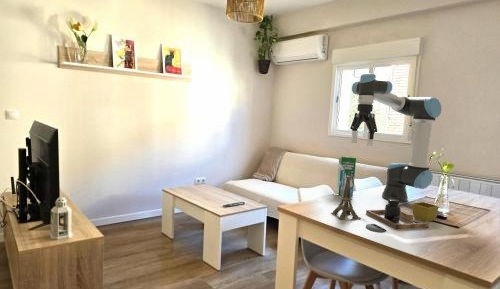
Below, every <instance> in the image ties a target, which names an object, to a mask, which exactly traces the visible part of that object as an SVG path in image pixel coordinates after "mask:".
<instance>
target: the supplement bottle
mask: <svg viewBox="0 0 500 289" xmlns="http://www.w3.org/2000/svg"><path fill="white" fill-rule="evenodd" d="M399 205H400V202H399V200H397V199H387V204H385V206H384V210H385V214H383V216H384V217H383V218H385V219H387V220H389V221H391V222H393V223H395V224H400V219H399V218H400V210H402V209H401V206H399Z"/></svg>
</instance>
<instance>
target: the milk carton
mask: <svg viewBox="0 0 500 289" xmlns="http://www.w3.org/2000/svg"><path fill="white" fill-rule="evenodd" d="M356 163H357V158H356V157H351V156H347V155H344V156H341V157H339V159H338V168H337V180H336V181H337V182H336V191H335V192H336V193H337V194H338V196H343V194H344V189H345V185H346V180H347V179H346V176H348V173H349V176H350V177H351V179H350V197H353V196H354V188H355V186H354V185H355V176H356V175H355V174H356V166H357V164H356Z"/></svg>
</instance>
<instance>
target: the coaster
mask: <svg viewBox="0 0 500 289" xmlns="http://www.w3.org/2000/svg"><path fill="white" fill-rule="evenodd" d="M365 228H366V229H367V230H369V231H372V232H375V233H386V232H387V231H388V230H387V229H385V228H384V227H382V226H380V225H378V224H375V223H367V224H365Z"/></svg>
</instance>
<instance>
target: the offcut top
mask: <svg viewBox="0 0 500 289" xmlns="http://www.w3.org/2000/svg"><path fill="white" fill-rule="evenodd" d="M400 215H401V216H403V217H405V218H406V219H413V220H414V219H415V218H414V215H413V213H412V212H409V211H408V210H406V209H401V210H400Z"/></svg>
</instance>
